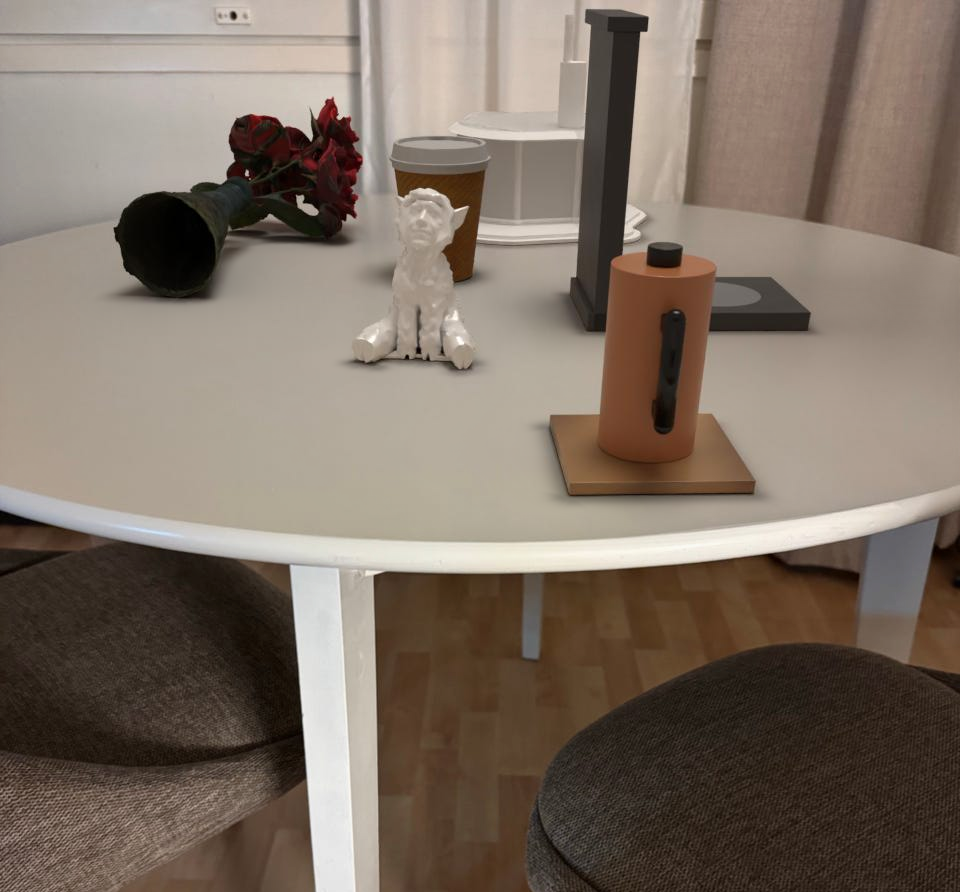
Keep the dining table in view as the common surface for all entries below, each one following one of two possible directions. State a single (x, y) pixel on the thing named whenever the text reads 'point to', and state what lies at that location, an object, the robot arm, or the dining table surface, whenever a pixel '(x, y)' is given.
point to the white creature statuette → (422, 289)
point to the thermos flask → (654, 353)
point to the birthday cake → (537, 166)
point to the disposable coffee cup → (446, 185)
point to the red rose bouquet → (243, 199)
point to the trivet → (602, 473)
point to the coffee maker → (607, 189)
